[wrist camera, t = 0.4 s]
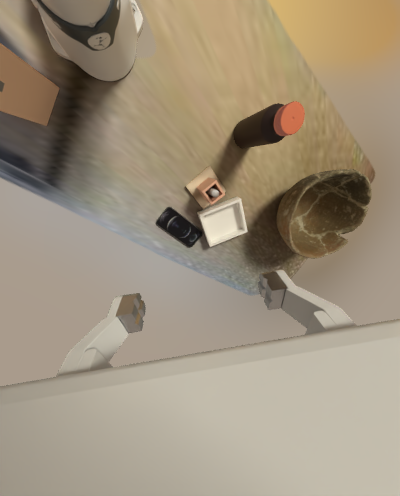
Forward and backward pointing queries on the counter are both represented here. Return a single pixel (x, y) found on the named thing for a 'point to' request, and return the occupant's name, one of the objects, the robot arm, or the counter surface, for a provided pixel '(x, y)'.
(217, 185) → the sleeve
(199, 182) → the peg stand
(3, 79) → the tan rectangular block
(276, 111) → the bottle
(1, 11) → the counter surface
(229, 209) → the tray
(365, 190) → the bowl
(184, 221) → the smartphone
